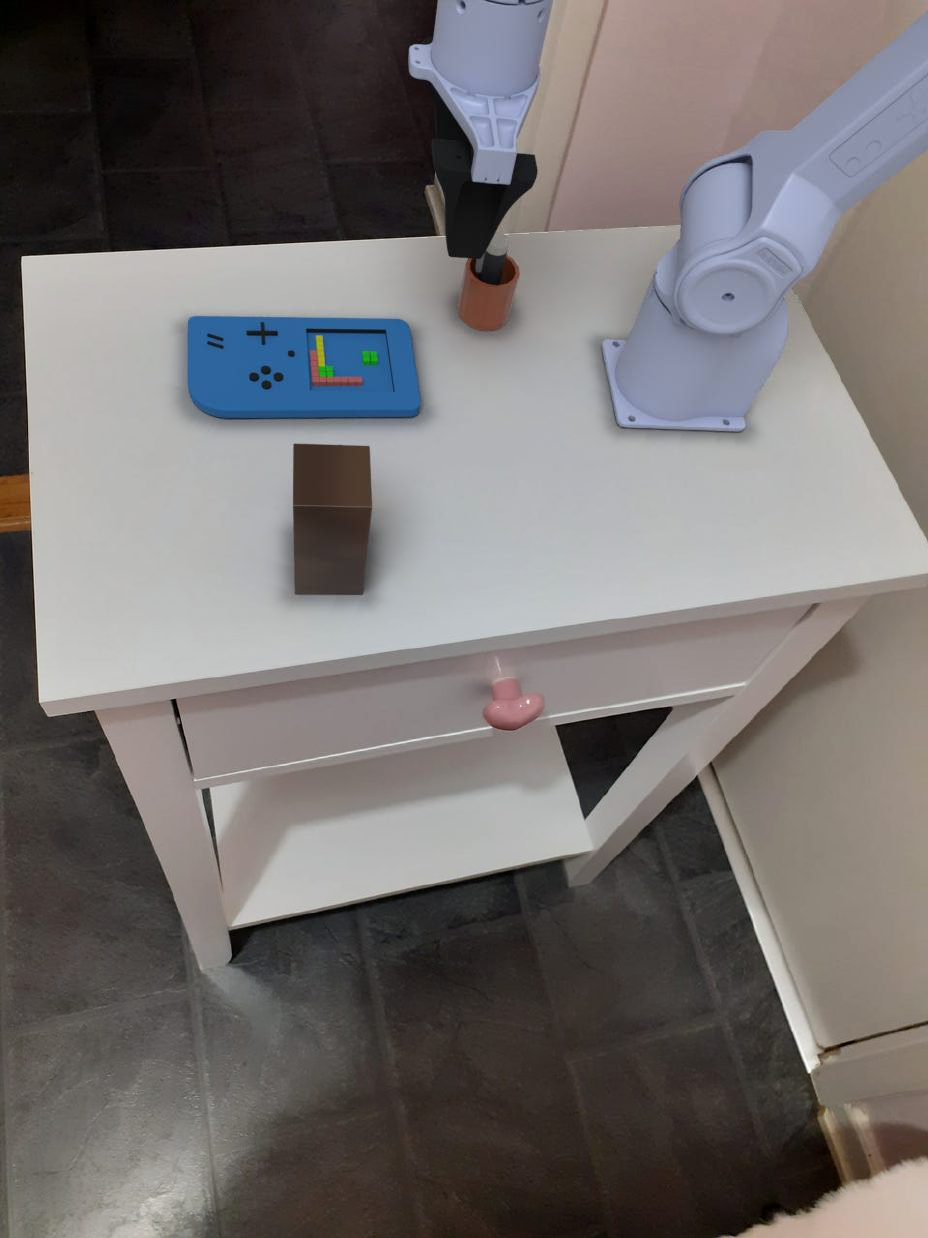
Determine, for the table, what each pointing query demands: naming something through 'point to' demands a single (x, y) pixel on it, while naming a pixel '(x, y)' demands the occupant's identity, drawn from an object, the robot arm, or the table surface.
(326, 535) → the tall brown box
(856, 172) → the robot arm
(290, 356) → the handheld gaming device
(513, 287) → the pen cup
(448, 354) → the table surface
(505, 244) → the stylus
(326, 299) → the table surface
